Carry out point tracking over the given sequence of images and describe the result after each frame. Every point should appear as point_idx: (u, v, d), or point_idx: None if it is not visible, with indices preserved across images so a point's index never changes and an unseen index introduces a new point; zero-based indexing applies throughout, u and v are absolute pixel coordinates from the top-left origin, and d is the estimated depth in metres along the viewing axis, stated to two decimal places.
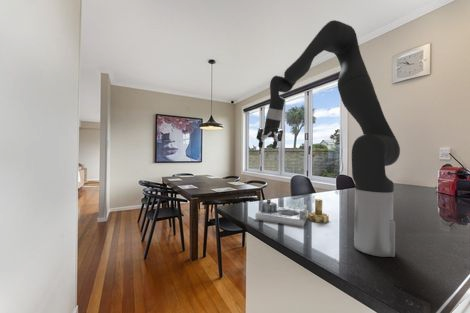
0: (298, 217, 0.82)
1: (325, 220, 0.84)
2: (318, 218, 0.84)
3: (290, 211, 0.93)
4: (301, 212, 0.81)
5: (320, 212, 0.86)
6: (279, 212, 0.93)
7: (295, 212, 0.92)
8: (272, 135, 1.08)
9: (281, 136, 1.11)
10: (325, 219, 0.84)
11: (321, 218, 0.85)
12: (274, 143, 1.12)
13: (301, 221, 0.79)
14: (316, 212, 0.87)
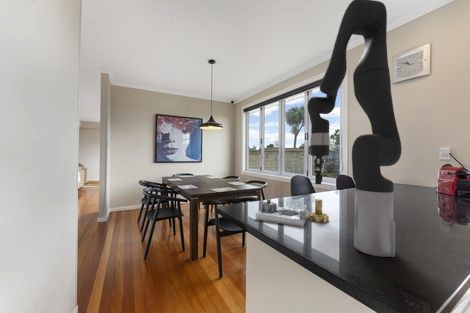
0: (298, 217, 0.82)
1: (325, 220, 0.84)
2: (318, 218, 0.84)
3: (290, 211, 0.93)
4: (301, 212, 0.81)
5: (320, 212, 0.86)
6: (279, 212, 0.93)
7: (295, 212, 0.92)
8: None
9: None
10: (325, 219, 0.84)
11: (321, 218, 0.85)
12: None
13: (301, 221, 0.79)
14: (316, 212, 0.87)
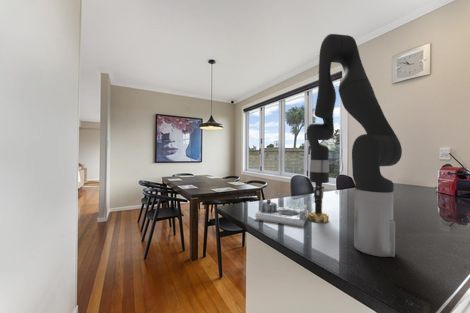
0: (298, 217, 0.82)
1: (325, 220, 0.84)
2: (318, 218, 0.84)
3: (290, 211, 0.93)
4: (301, 212, 0.81)
5: None
6: (279, 212, 0.93)
7: (295, 212, 0.92)
8: None
9: None
10: (325, 219, 0.84)
11: (321, 218, 0.85)
12: None
13: (301, 221, 0.79)
14: None
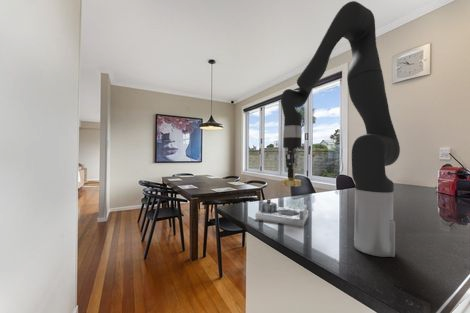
0: (298, 217, 0.82)
1: (296, 184, 0.86)
2: (289, 182, 0.86)
3: (290, 211, 0.93)
4: (301, 212, 0.81)
5: None
6: (279, 212, 0.93)
7: (295, 212, 0.92)
8: None
9: None
10: (296, 183, 0.86)
11: (292, 182, 0.86)
12: None
13: (301, 221, 0.79)
14: None
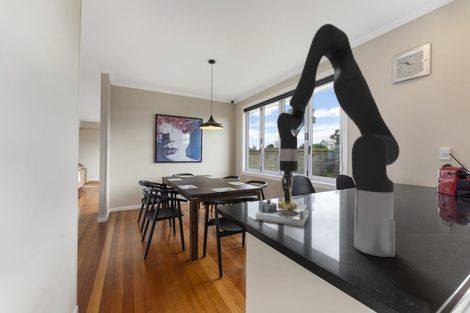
0: (298, 217, 0.82)
1: (293, 208, 0.85)
2: (286, 206, 0.85)
3: (290, 211, 0.93)
4: (301, 212, 0.81)
5: None
6: (279, 212, 0.93)
7: (295, 212, 0.92)
8: None
9: None
10: (293, 207, 0.85)
11: (289, 206, 0.86)
12: None
13: (301, 221, 0.79)
14: None
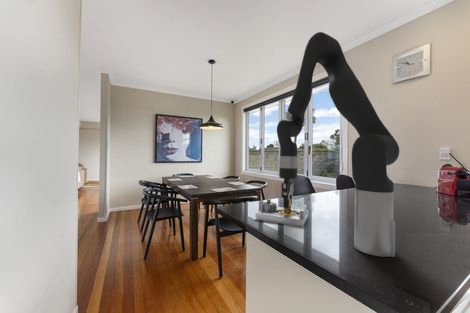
0: (298, 217, 0.82)
1: None
2: None
3: None
4: (301, 212, 0.81)
5: (288, 211, 0.87)
6: None
7: (295, 212, 0.92)
8: None
9: (293, 188, 0.94)
10: None
11: None
12: None
13: (301, 221, 0.79)
14: (285, 211, 0.88)
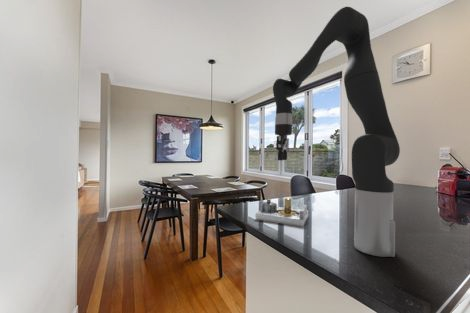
0: (298, 217, 0.82)
1: None
2: None
3: None
4: (301, 212, 0.81)
5: (288, 211, 0.87)
6: None
7: (295, 212, 0.92)
8: (285, 144, 0.95)
9: (288, 145, 1.00)
10: None
11: None
12: (284, 154, 0.98)
13: (301, 221, 0.79)
14: (285, 211, 0.88)
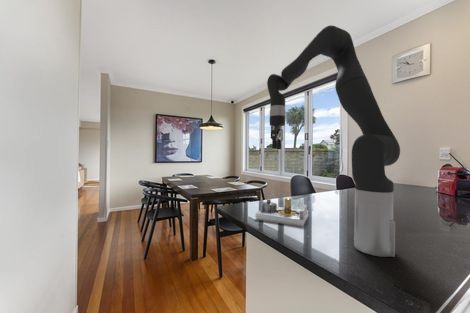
0: (298, 217, 0.82)
1: None
2: None
3: None
4: (301, 212, 0.81)
5: (288, 211, 0.87)
6: None
7: (295, 212, 0.92)
8: (279, 134, 1.03)
9: (282, 135, 1.08)
10: None
11: None
12: (279, 143, 1.06)
13: (301, 221, 0.79)
14: (285, 211, 0.88)
